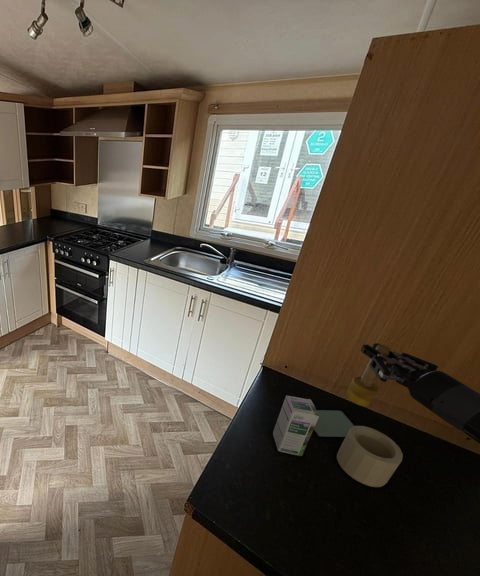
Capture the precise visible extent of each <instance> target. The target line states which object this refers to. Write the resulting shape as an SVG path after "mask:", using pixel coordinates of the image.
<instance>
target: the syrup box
mask: <svg viewBox="0 0 480 576" xmlns="http://www.w3.org/2000/svg"><path fill="white" fill-rule="evenodd" d="M317 410H318V409H317V408H316V406H315V404H314V403H313V401H312V399H311V398H304V397H298V396H292V395H287V394H286V395H285V398H284V400H283V403H282V406H281V409H280V410H279V411H280V412H279V414H278V417H277V420H276V423H275V425H274V428H273V431H272V436H273V439H274V442H275V447H276V448H277V451H278V452H280V453H286V454H290V455H293V456H294V455H295V456H299V457H302V456H303V455H304V453H305V450H306V448H307V446H308V443H309V441H310V439H311V437H312V434H313V432H314V431H315V430H314V427H315V425H316V423H317V420H318V418H319V415H318V412H317Z"/></svg>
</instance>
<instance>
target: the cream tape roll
mask: <svg viewBox="0 0 480 576" xmlns="http://www.w3.org/2000/svg"><path fill="white" fill-rule="evenodd" d="M403 458H404V454H403V452H402V450H401V448H400V446H399V445H398V444H396V442H395V441H394V440H393V439H392V438H390V437H389V436H387V435H386V434H385V433H383V432H381V431H379V430H377V429H375V428H372V427H368V426H365V425H354V427H352V428H350V430H349V432H348V434H347V435H346V437H344V439H343V441H342V443H341V444H340V447H339V448H338V451H337V452H336V460H337V463H338V464H339V466H340V468H341V469H342V470H343V471H344V472H345V473H346V474H347V475H348V476H350V477H351V478H352V479H353V480H355V481H356V482H359V483H361V484H363V485H364V486H367V487H372V488H382V487H384V486H385V485H386V484H387V483H388V482H389V481H390V479H391V478H392V476H393V475H394V473H395V472H396V470H397V469H398V467H399V466H400V464H401V463H402V461H403Z"/></svg>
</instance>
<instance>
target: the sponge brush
mask: <svg viewBox="0 0 480 576" xmlns="http://www.w3.org/2000/svg"><path fill="white" fill-rule="evenodd" d="M376 350H377V351H379V352H380V353H381V354H383V355H385V356H387V357H388V355H389V353H390V351H392V348H391V347H389V346H388V345H386V344H381V343H379V345H377V347H376ZM371 361H372V359H371V358H369V361H368V364H367V365H366V368H365V370H364V371H363V373H362V375H361V376H354V377H353V378H352V380H351V382H350V384H349V386H348V389H347V391H346V393H345V396H346V398H347V399H348V400H349V401H350V402H352V403H353V404H356V405H359V406H361V407H369V406H371V404H372V402H373V401H374V399H375V397H376V395H377V393H378V391H379V390H380V389H379V388H380V387H379V386H378V384H376V383H375V381H376V379H377V378H378V376H377V375H376V374H375V372H374V371H373V369H372V368H371V367H370V363H371ZM383 362H384V363H386V361H384V360H383Z"/></svg>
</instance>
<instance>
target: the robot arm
mask: <svg viewBox="0 0 480 576" xmlns="http://www.w3.org/2000/svg"><path fill="white" fill-rule="evenodd" d="M379 344H380V343H379V342H375V343H373V345H372V346H371V345H369V344H367V343H364V344H363V345H362V346H361V349H360V352H361V353H362V354H364V355H365V356H367V357H368V358H369V359H372V361H371V363H370V367H371V368H372V369H373V371H374V372H375V374H376V375H377V378H378V379H379V381H381V382H383V383H386V382H387V381H388V380H389V381H395V382H396V383H397V384H398V385H401V386H403V387H405V388H407V390H408V391H409V395H410V397H411V398H412V399H413V400H414V401H416V402H417V403H419V404H420V405H422V407H425V408H426V409H428V410H429V411H430V412H432V413H433V414H435V415H436V416H437V417H439V418H440V419H441V420H443V421H444V422H446V423H447V424H449V425H450V426H452V427H454V428H456V429H458V430H459V431H461V432H462V433H463V434H465V435H467V436H468V437H469V438H471V439H472V440H474V441H475V442H477V443H478V444H480V392H478V391H476V389H473V388H471V387H469V386H468V385H466V384H464V383H463V382H461V381H460V380H458V379H456V378H454V377H453V376H452V375H450V374H447V373H446V372H444V371H442V370H438V368H439V366H438V365H436V364H434V363H432V362H429V361H427V360H424V359H422V358H419V357H417V356H414V355H412V354H409V353H406V352H401V353H399V352H397V351H392V350H391V351H390V353H389V355H388V357H387V356H385V355H383V354H381V353H380V352H379V351H377V350H376V347H377V345H379ZM383 360H384V361H385V362H383Z"/></svg>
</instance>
